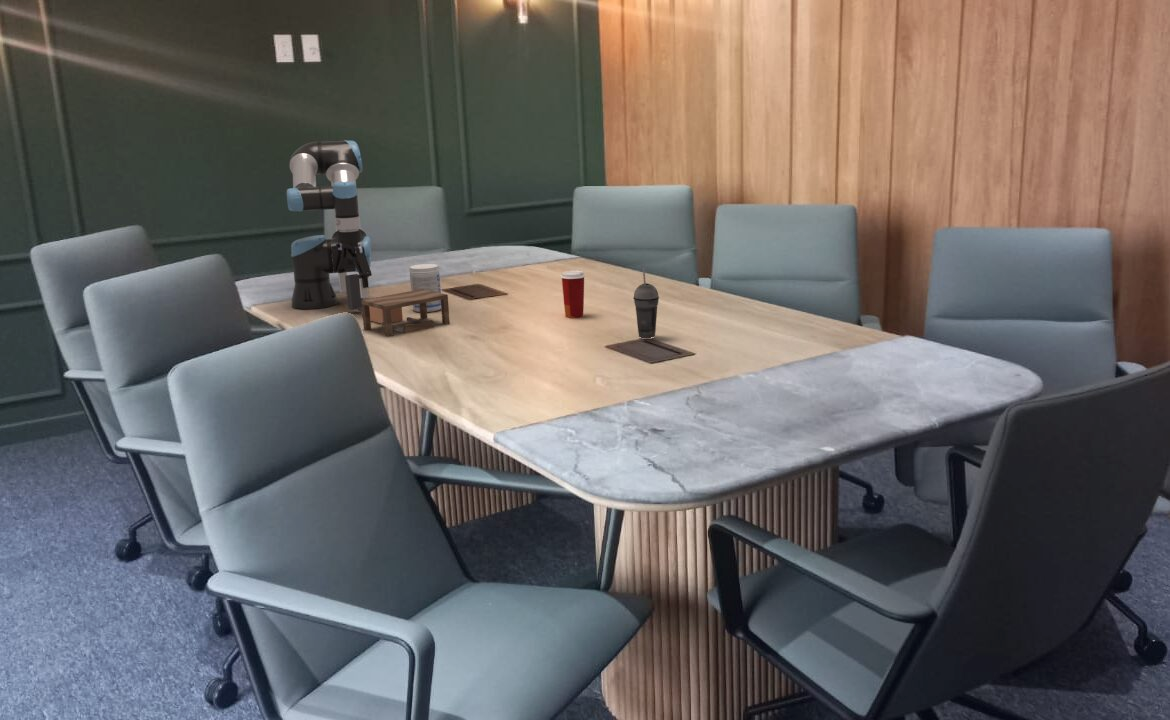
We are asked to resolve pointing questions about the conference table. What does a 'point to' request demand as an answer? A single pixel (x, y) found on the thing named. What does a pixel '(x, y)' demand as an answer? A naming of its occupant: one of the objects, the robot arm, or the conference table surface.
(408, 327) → the shelf
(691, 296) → the conference table surface
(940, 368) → the conference table surface
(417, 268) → the supplement tub
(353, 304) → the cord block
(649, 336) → the beverage cup
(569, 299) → the paper cup
